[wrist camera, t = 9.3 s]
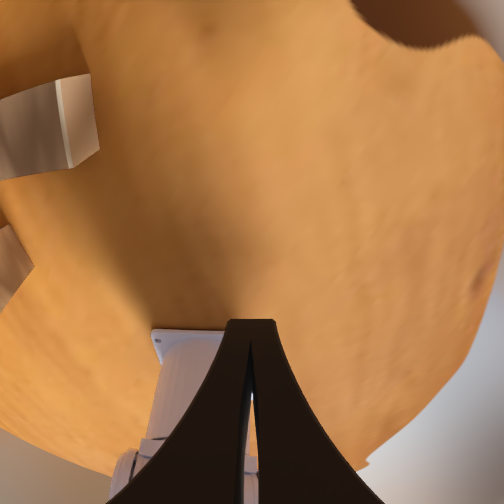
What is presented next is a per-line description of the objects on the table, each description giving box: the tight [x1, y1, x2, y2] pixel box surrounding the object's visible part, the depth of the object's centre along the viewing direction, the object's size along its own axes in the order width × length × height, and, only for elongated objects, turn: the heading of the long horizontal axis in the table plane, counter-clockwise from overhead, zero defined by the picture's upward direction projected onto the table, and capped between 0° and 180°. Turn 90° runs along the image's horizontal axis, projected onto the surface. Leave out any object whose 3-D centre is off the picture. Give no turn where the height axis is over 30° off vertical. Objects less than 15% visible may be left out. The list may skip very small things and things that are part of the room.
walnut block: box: [0, 73, 100, 180], centre depth 14 cm, size 4×3×8 cm
